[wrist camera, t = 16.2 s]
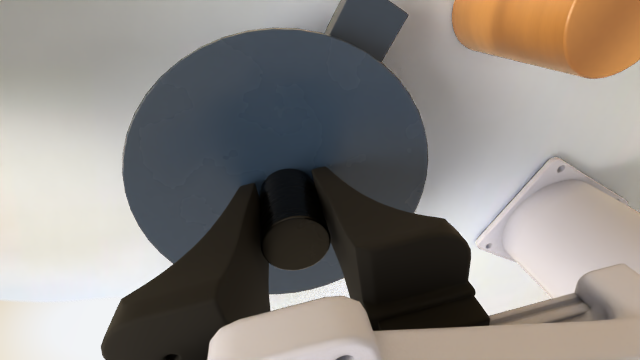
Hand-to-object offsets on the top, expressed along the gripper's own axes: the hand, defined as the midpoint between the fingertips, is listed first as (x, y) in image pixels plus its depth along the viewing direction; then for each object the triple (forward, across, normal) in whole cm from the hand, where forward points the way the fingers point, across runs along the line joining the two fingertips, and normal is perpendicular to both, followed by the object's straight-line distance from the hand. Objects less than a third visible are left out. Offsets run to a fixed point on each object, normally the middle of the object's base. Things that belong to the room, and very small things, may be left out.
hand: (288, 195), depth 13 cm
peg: (+4, -12, -5) cm, 13 cm away
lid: (+1, 0, 0) cm, 1 cm away
